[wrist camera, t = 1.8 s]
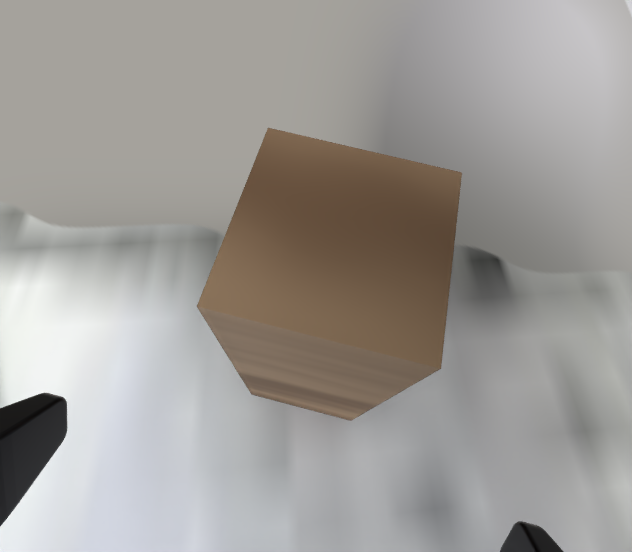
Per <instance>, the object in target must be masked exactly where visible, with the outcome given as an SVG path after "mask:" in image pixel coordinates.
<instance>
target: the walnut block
mask: <svg viewBox="0 0 632 552" xmlns="http://www.w3.org/2000/svg"><path fill="white" fill-rule="evenodd" d="M461 175H462V173H461V172H457V171H453V170H448V169H444V168H440V167H435V166H431V165H427V164H422V163H418V162H414V161H409V160H405V159H401V158H396V157H392V156H388V155H384V154H379V153H375V152H370V151H366V150H362V149H358V148H353V147H349V146H345V145H340V144H336V143H332V142H327V141H323V140H319V139H314V138H310V137H306V136H301V135H297V134H293V133H288V132H284V131H280V130H275V129H271V128H268V130H267V132H266V134H265V137H264V139H263V142H262V145H261V147H260V149H259V152H258V155H257V157H256V160H255V162H254V165H253V167H252V170H251V172H250V175H249V177H248V180H247V182H246V185H245V187H244V190H243V192H242V195H241V197H240V200H239V202H238V205H237V207H236V210H235V212H234V215H233V217H232V220H231V222H230V225H229V227H228V230H227V232H226V235H225V237H224V240H223V242H222V245H221V247H220V250H219V252H218V255H217V257H216V260H215V262H214V265H213V267H212V270H211V272H210V275H209V277H208V280H207V282H206V285H205V287H204V290H203V292H202V295H201V297H200V300H199V302H198V305H197V308H198V309H199V311H200V312H201V314H202V316H203V317H204V319H205V320H206V322H207V324H208V325H209V327H210V328H211V330H212V332H213V333H214V335H215V336H216V338H217V340H218V341H219V343H220V344H221V346H222V348H223V349H224V351H225V352H226V354H227V356H228V357H229V359H230V361H231V362H232V364H233V365H234V367H235V369H236V370H237V372H238V373H239V375H240V377H241V378H242V380H243V381H244V383H245V385H246V386H247V388H248V389H249V391H250V393H251V394H252V395H256V396H260V397H263V398H267V399H271V400H275V401H279V402H282V403H286V404H290V405H294V406H298V407H301V408H305V409H309V410H313V411H316V412H320V413H324V414H328V415H332V416H335V417H339V418H343V419H347V420H353V419H355V418H356V417H358V416H360V415H362V414H363V413H365V412H367V411H368V410H370V409H372V408H374V407H375V406H377V405H379V404H381V403H382V402H384V401H386V400H387V399H389V398H391V397H393V396H394V395H396V394H398V393H400V392H401V391H403V390H405V389H407V388H408V387H410V386H412V385H413V384H415V383H417V382H419V381H420V380H422V379H424V378H426V377H427V376H429V375H431V374H432V373H434V372H436V371H438V370H439V369H441V362H442V353H443V344H444V334H445V325H446V316H447V306H448V297H449V288H450V278H451V269H452V260H453V251H454V240H455V232H456V222H457V212H458V204H459V194H460V185H461Z"/></svg>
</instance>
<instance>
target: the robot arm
mask: <svg viewBox="0 0 632 552" xmlns="http://www.w3.org/2000/svg"><path fill="white" fill-rule="evenodd" d="M66 433H67V402H66V400H65V398H63V397H61V396H57V395H53V394H49V393H42V394H38V395H36V396H33V397H30V398H27V399H25V400H22V401H19V402H16V403H14V404H11V405H8V406H5V407H3V408H0V526H1V525H2V524H3V522H4V521H5V520H6V519H7V518H8V516H9V515H10V514H11V512H12V511H13V510H14V508H15V507H16V506H17V504H18V503H19V502H20V500H21V499H22V497H23V496H24V495H25V493H26V492H27V491H28V489H29V488H30V486H31V485H32V484H33V482H34V481H35V479H36V478H37V477H38V475H39V474H40V472H41V471H42V470H43V468H44V467H45V466H46V464H47V463H48V461H49V460H50V459H51V457H52V456H53V454H54V453H55V452H56V450H57V449H58V447H59V446H60V445H61V443H62V442H63V440H64V438H65V436H66ZM500 552H563V551H562V549H561V548H560V547H559V546H558V545H557V544H556V543H555V542H554V540H553V539H552V538H551V537H550V536H549V535H548V534H547V532H546V531H545V530H544V529H542V528H541V527H539V526H537V525H533V524H529V523H526V522H522V521H519V522H517V523H515V524H514V526H513V528H512V529H511V531H510V533H509V535H508V537H507V538H506V540H505V542H504V544H503V545H502V547H501V550H500Z"/></svg>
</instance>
